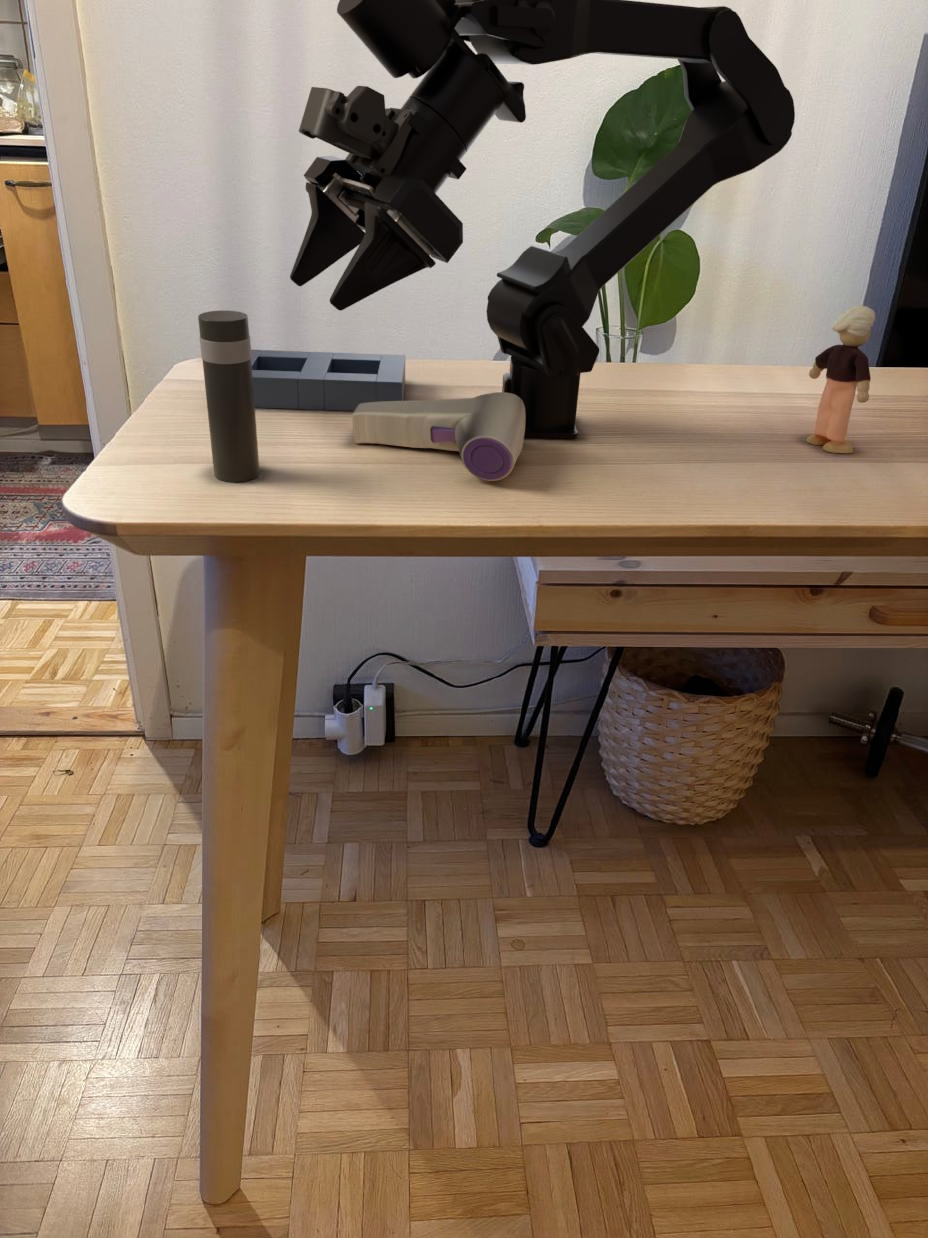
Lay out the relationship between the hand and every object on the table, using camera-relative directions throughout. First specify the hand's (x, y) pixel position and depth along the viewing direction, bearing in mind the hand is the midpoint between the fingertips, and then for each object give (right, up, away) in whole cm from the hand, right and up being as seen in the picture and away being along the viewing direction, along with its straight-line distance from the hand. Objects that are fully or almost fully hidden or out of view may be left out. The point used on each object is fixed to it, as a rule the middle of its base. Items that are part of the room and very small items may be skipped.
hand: (313, 293), depth 72 cm
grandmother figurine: (+46, -9, +15) cm, 49 cm away
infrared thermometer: (+9, -12, +8) cm, 17 cm away
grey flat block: (-3, -2, +22) cm, 22 cm away
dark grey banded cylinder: (-7, -14, +3) cm, 15 cm away
